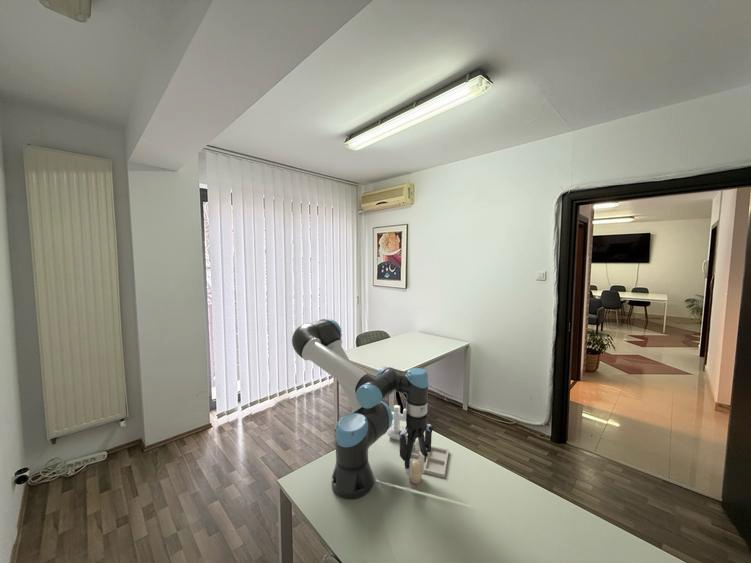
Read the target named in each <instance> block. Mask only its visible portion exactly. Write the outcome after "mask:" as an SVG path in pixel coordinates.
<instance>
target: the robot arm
mask: <svg viewBox="0 0 751 563" xmlns="http://www.w3.org/2000/svg"><path fill="white" fill-rule="evenodd" d="M342 335H343V334H342V328H341V326H340V324H339V323H338V322H337V321H336V320H334V319H330V318H323V319H319V320H316V321H313V322H308V323H305V324H304V323H303V324H302V325H300V326H297V328H296V329H295V330H294V332H293V334H292V338H291V344H292V345H291V346H292V348H293V350H294V351H295V353H296V354H297V355H298V356H299V357H300V358H302V359H303V360H305V361H311V362H312V363H313V364H315V365H316V366H318V367H319V368H320V369H322V370H323V371H324V372H325V373H328V374H329V375H330V376H332V378H334V379H335V380H337V383H338V384H339V385H340V387H341V389H342V391H343V392H344V394H345V396H346V398H347V400H348V401H349V404H350V405H351V406H352V409H351V413H350V414H349V413H348V414H345V415H343V417H341V418H340V419H339V420H338V421H337V423H336V426H335V434H334V436H335V437H334V438H335V440H334V441H335V466H334V469H333V472H332V475H331V489H332V491H333V492H334V494H336V495H337V496H338V497H340V498H343V499H347V500H348V499H349V500H352V499H359V498H361V497H363V496H366V494H368V493H369V492H370V491H371V489H372V488H373V484H374V474H373V470H372V467H371V464H370V462H369V448H370V447H372V445H374V444H375V443H376V442H377V441H378V440H379V439H380V438H382V436H384V435H385V434H387V431H388V430H389V428H390V427H391V425H392V424H393V419H392V412H393V411H392V410H391V408H390V407H389V405H388V404H387V403H386V402H384V400H385V399H386V398H387V397H389V396H390V395H392V394H393V393H394V392H397V393H400V394H403V395H404V394H405V395H406V396H405V397H406V401H405V402H406V407H405V409H406V411H407V412H406V421H405V423H406V425H405V427H406V428H405V430H404V431H403V432H401V431H399V436H400V440H399V457H400V458H401V459H402V461H404V468H405V467H406V468H405V474H407V476H408V478H409V477H410V478H411V477H412V460H411V454H412V449H413V445H414V442H415V440H416V438H418V440H419V445H420V451H421V452H419V456H418V461H419V462H420V463H421V466H422V474H425V473H424V463H425V462H426V457H427V456H428V454H427V453H428V452H431V446H432V435H433V434H432V433H433V431H434V426H432V424H430V422H428V405H429V402H428V397H429V396H428V395H429V374H428V371H427V370H426V369H424V368H421V367H411V368H409V369H407V371H403V370H399V369H396V368H393V367H391V366H390V367H388V366H381V367H380V368H379V370H378V371H377V373H376V377H372V376H371V375H369V374H368V373H366V372H365V371H363V370H362V369H361V368H359V367H357V366H356V365H354V364H353V363H352V362H351V360H350V358H349V356H348V354H347V353H346V351H345V349H344V348H343V346H342V345H343V344H342V343H343V340H342V337H343V336H342ZM424 439H425V441H424Z"/></svg>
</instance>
